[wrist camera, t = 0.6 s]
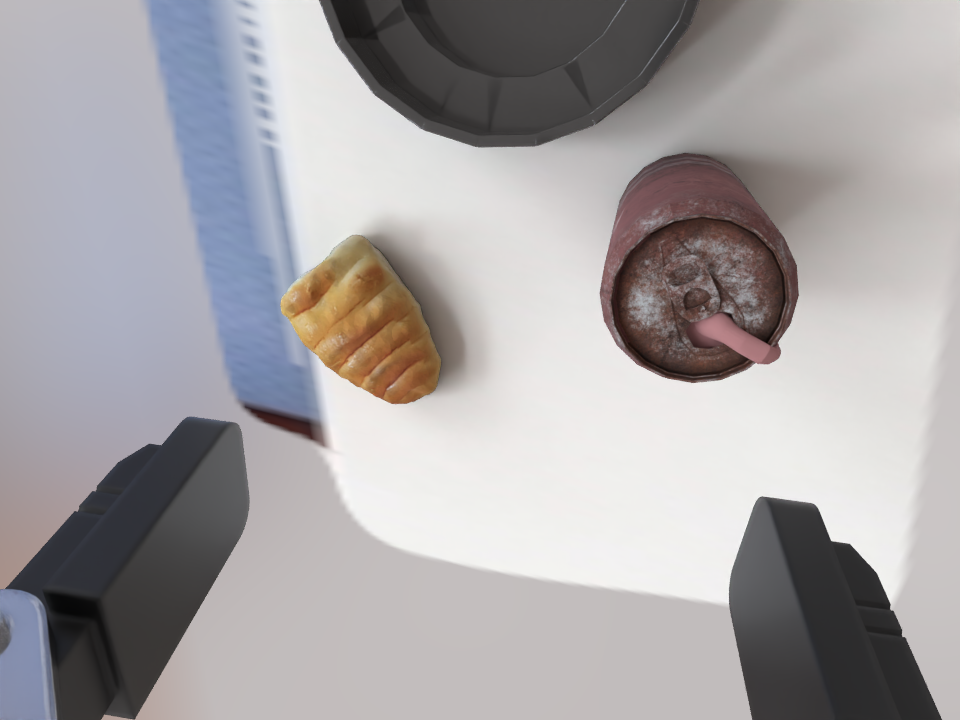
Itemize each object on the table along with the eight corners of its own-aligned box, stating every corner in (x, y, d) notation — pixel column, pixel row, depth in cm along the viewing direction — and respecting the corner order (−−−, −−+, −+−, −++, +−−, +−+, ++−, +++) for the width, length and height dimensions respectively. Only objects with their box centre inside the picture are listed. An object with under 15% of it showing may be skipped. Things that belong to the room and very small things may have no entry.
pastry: (476, 352, 40) (459, 379, 37) (392, 416, 43) (369, 447, 39) (361, 220, 39) (332, 235, 35) (282, 295, 42) (248, 316, 38)
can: (708, 302, 36) (739, 429, 24) (595, 243, 37) (565, 339, 24) (780, 191, 34) (856, 268, 21) (657, 129, 34) (661, 168, 21)
